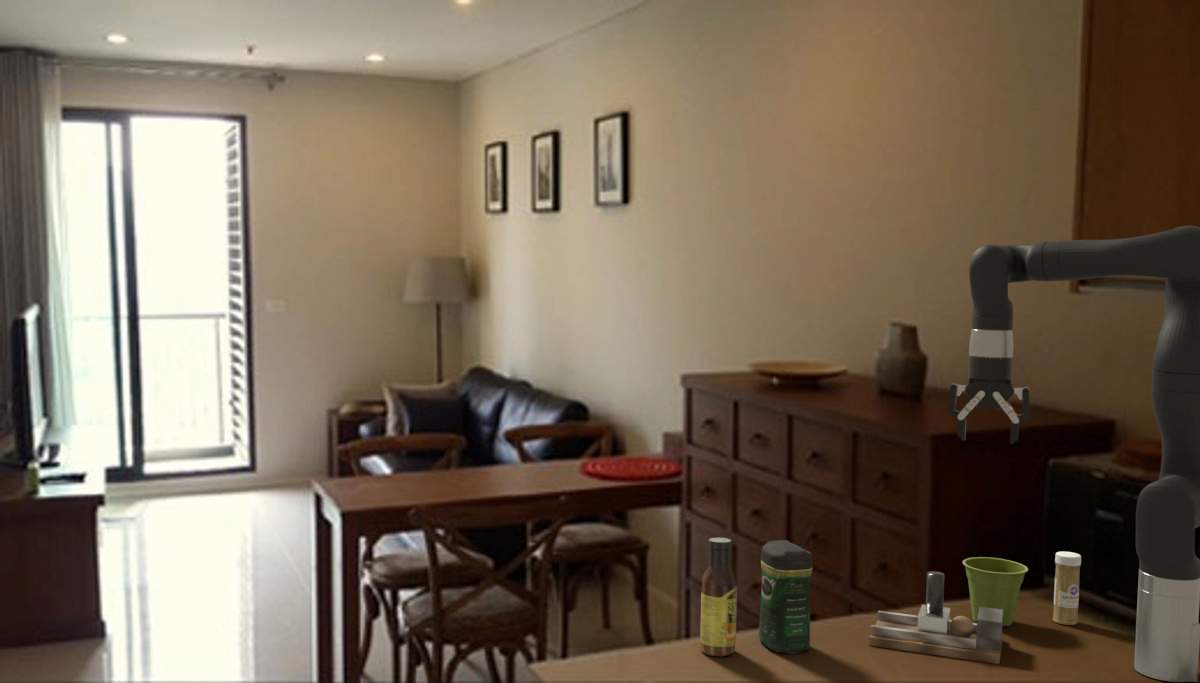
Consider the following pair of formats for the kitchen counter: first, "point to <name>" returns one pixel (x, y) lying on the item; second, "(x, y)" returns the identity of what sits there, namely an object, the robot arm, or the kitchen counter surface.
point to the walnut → (961, 627)
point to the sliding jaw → (934, 607)
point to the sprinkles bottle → (1066, 587)
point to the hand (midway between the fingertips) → (987, 441)
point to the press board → (941, 636)
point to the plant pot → (994, 585)
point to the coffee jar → (785, 597)
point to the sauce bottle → (718, 601)
